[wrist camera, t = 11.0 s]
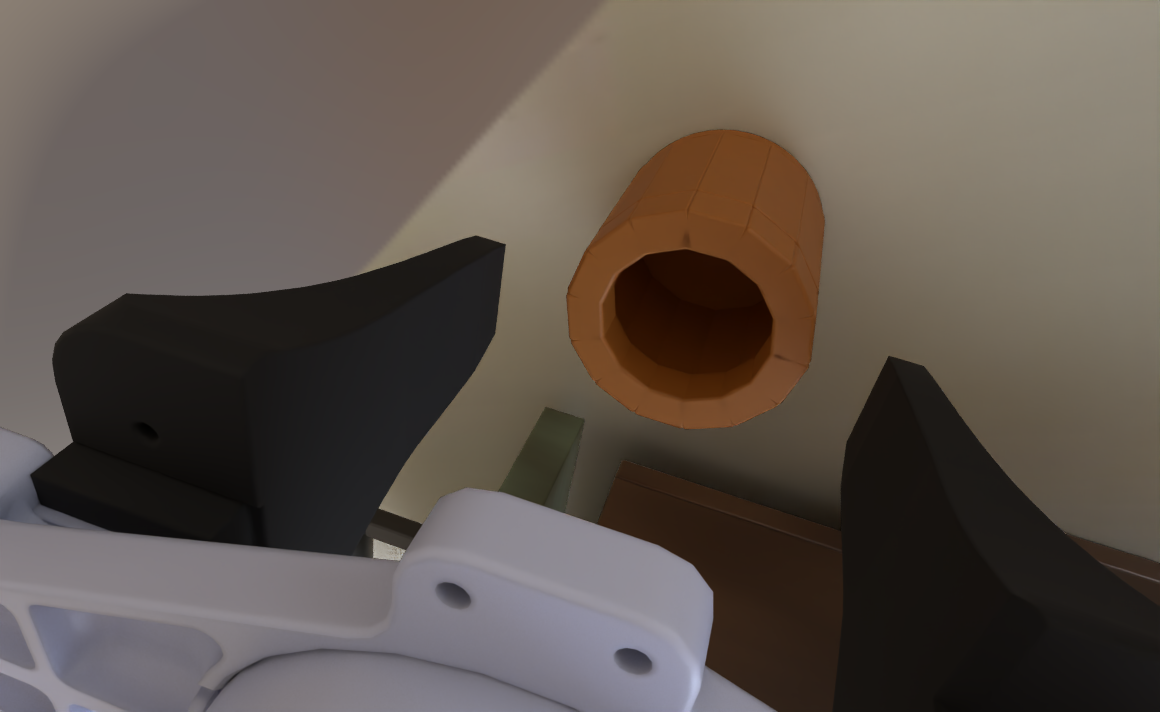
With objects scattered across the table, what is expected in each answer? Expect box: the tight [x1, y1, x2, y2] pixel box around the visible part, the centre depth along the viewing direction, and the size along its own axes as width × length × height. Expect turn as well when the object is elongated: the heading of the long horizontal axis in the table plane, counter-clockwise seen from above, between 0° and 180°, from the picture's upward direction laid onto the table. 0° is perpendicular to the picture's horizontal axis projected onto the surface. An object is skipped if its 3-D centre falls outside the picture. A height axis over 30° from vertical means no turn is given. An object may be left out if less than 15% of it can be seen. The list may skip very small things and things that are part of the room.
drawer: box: [352, 407, 843, 712], centre depth 22 cm, size 18×11×7 cm, turn 81°
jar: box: [566, 130, 825, 429], centre depth 17 cm, size 5×5×5 cm
